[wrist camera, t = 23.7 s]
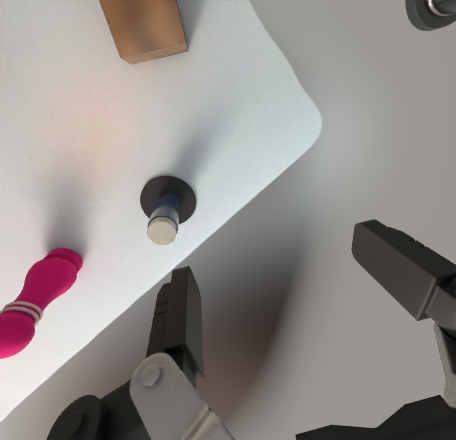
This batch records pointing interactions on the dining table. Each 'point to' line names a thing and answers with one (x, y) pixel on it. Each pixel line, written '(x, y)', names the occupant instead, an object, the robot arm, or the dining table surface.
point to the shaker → (164, 219)
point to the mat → (172, 186)
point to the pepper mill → (36, 298)
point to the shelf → (145, 28)
